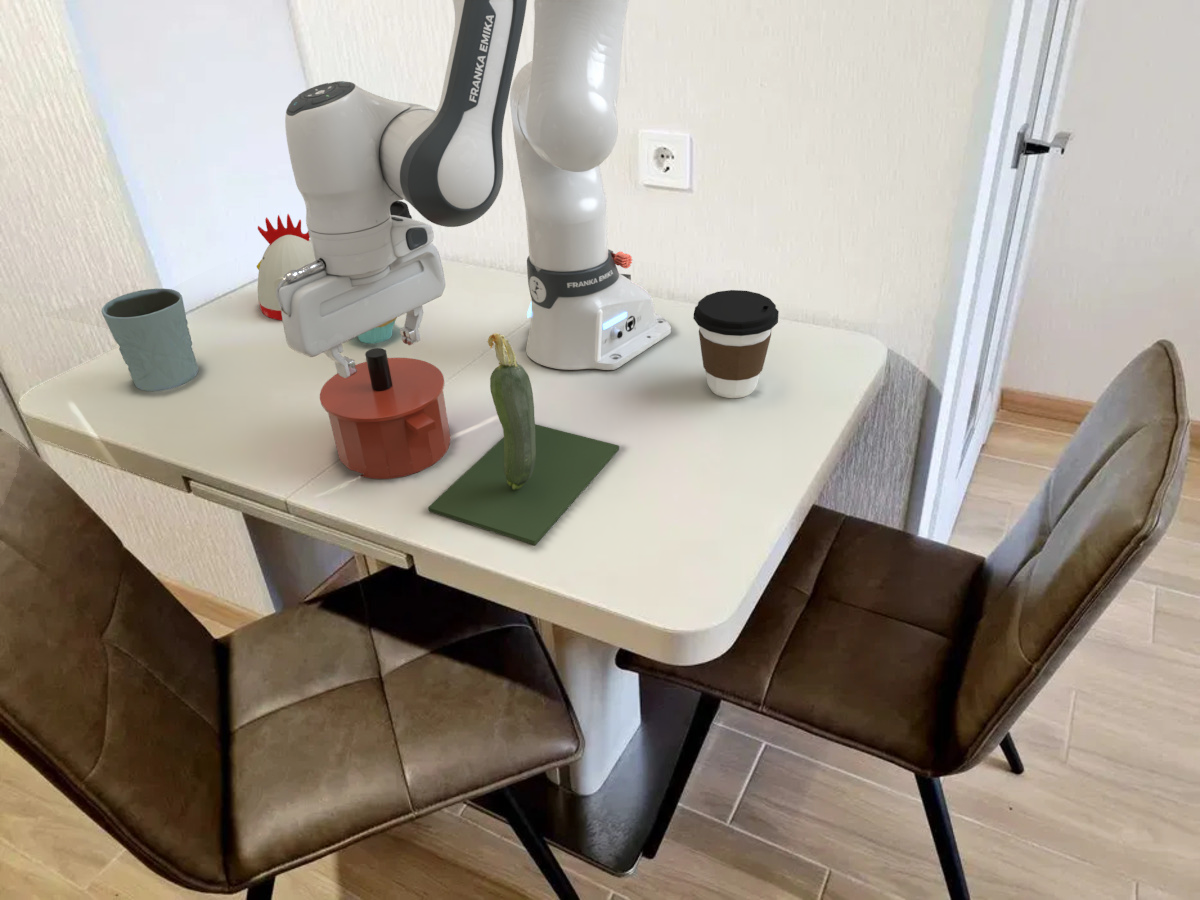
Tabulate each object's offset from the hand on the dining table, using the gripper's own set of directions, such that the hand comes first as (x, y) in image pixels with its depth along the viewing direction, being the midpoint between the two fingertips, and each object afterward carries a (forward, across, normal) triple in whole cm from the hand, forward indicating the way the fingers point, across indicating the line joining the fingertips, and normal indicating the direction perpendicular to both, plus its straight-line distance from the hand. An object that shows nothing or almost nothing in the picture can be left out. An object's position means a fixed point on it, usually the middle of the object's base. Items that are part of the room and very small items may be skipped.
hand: (380, 358), depth 103 cm
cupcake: (+13, +17, +26) cm, 34 cm away
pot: (+12, -1, 0) cm, 12 cm away
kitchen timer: (+12, +18, +48) cm, 53 cm away
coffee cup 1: (+13, +30, +36) cm, 49 cm away
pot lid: (+4, -1, 0) cm, 4 cm away
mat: (+13, +4, -18) cm, 22 cm away
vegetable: (+12, +2, -20) cm, 23 cm away
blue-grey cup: (+12, -9, +41) cm, 44 cm away
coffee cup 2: (+14, +36, -26) cm, 47 cm away
